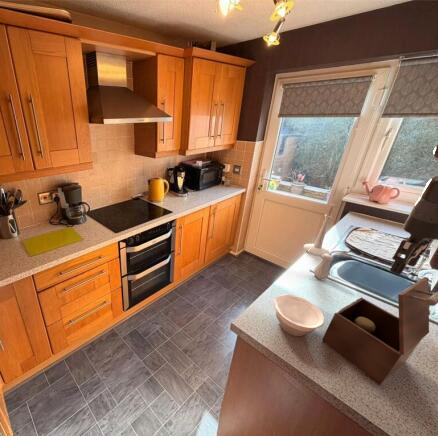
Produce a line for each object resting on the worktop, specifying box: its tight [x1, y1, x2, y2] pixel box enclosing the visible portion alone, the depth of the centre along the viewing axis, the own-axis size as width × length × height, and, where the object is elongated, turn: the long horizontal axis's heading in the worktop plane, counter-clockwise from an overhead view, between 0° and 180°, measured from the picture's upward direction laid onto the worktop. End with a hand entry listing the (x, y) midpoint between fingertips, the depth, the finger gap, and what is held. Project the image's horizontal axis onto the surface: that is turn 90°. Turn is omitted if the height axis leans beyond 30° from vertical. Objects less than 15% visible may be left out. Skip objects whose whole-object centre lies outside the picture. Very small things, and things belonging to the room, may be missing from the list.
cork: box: [354, 317, 375, 333], centre depth 79 cm, size 6×6×11 cm
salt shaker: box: [313, 254, 334, 280], centre depth 112 cm, size 6×6×13 cm
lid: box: [397, 276, 438, 355], centre depth 63 cm, size 17×17×5 cm
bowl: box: [273, 294, 325, 337], centre depth 87 cm, size 16×16×9 cm
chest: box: [321, 297, 423, 386], centre depth 76 cm, size 17×17×14 cm
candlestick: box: [303, 203, 336, 257], centre depth 131 cm, size 13×13×30 cm
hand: (402, 268), depth 66 cm, fingers open, 8 cm apart
